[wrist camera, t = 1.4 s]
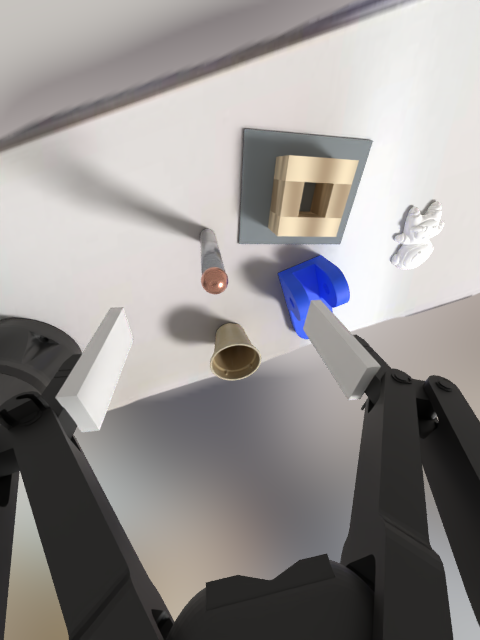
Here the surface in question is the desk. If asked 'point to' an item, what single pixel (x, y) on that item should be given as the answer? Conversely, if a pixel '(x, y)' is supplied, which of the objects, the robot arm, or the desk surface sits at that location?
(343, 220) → the mat
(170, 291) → the desk surface
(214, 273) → the copper-tipped rod
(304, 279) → the bracket
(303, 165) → the block with square hole
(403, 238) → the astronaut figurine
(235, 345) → the flower pot
